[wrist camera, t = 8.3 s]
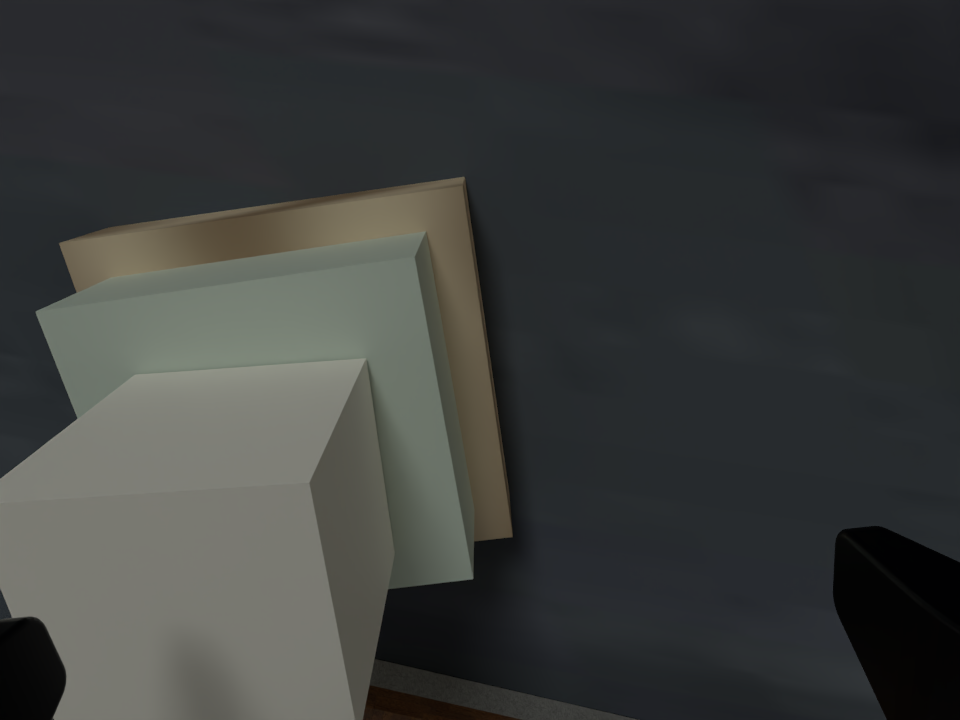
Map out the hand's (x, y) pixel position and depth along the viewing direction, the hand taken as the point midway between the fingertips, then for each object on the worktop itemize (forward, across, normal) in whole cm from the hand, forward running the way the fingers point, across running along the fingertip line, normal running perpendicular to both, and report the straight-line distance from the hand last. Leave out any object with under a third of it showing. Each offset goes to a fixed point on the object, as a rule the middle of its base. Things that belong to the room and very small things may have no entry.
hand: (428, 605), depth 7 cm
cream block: (+7, +5, +2) cm, 9 cm away
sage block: (+10, +5, +2) cm, 11 cm away
